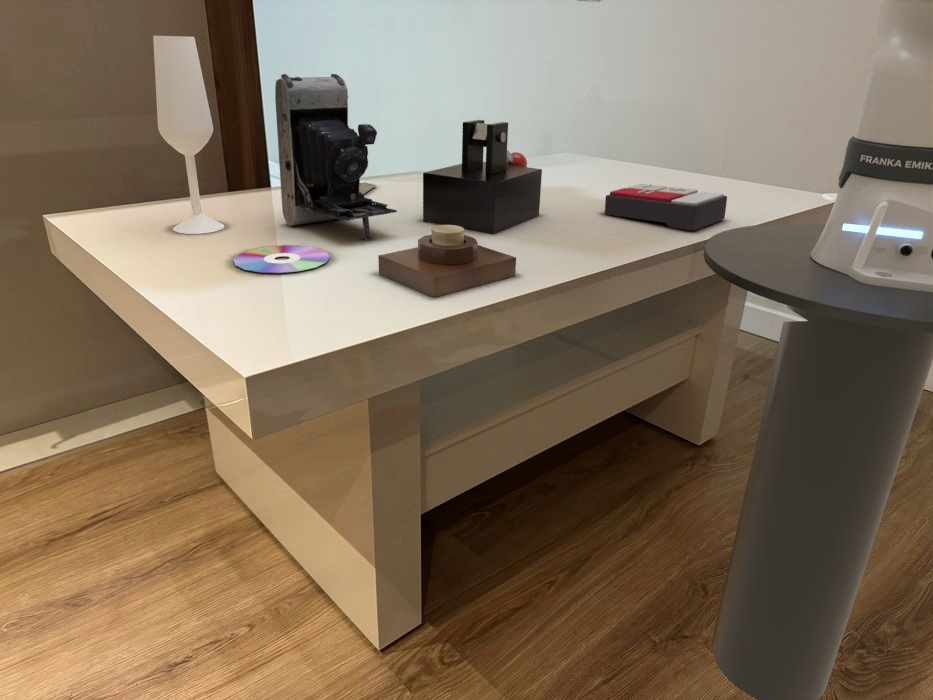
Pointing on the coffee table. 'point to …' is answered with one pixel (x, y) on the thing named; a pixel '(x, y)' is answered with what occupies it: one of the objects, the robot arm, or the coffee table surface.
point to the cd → (267, 263)
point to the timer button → (447, 235)
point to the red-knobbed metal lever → (512, 158)
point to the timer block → (446, 266)
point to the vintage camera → (321, 153)
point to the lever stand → (482, 186)
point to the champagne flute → (184, 115)
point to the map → (365, 187)
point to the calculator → (667, 205)
